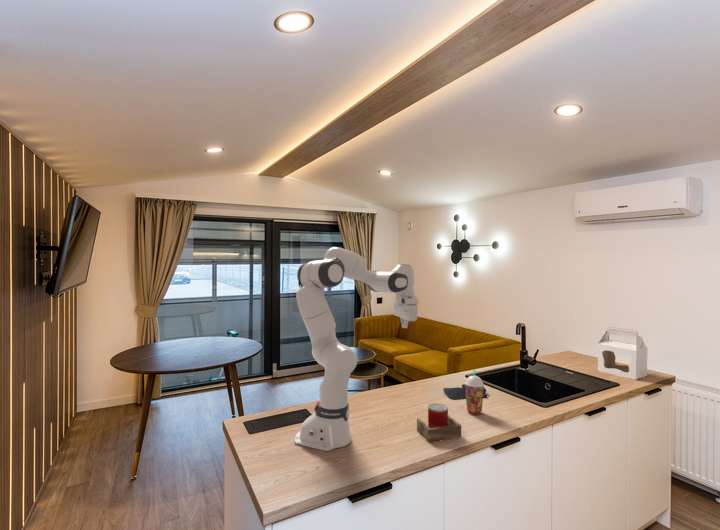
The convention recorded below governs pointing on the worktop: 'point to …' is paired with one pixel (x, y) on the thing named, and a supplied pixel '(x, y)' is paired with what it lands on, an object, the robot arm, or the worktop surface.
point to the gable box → (636, 353)
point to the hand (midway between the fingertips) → (404, 327)
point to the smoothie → (474, 394)
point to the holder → (439, 430)
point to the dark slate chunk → (459, 392)
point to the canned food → (437, 415)
